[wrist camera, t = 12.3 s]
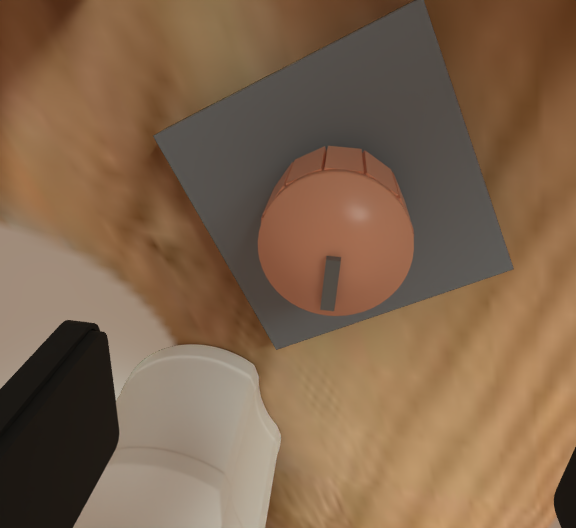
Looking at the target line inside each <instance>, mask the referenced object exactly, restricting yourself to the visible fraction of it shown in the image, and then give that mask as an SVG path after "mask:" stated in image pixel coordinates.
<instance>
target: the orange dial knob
mask: <svg viewBox="0 0 576 528" xmlns="http://www.w3.org/2000/svg"><path fill="white" fill-rule="evenodd" d="M413 231H414V229H413V226H412V223H411V220H410V216H409V213H408V210H407V207H406V203H405V200H404V198H403V195H402V193H401V190H400V188H399V185H398V183H397V180H396V178H395V175H394V173H393V172H392V171H391V169H390V168H389V167H387V166H386V165H384V164H383V163H382V162H380V161H379V160H378V159H376V158H375V157H373V156H372V155H371V154H369V153H368V152H367V151H365V150H364V151H363V153H362V149H358V148H347V147H337V146H328V148H327V150H326V148H325V146H324V147H322V148H319V149H317V150H315V151H313V152H311V153H308V154H306V155H304V156H302V157H300V158H297V159H295V160H294V163H293V162H292V163H291V164H290V166H289V167H288V168H287V170H286V171H285V173H284V174H283V176H282V177H281V178H280V180H279V181H278V183H277V184H276V186H275V187H274V189H273V191H272V194H271V196H270V198H269V201H268V203H267V205H266V208H265V210H264V212H263V214H262V217H261V226H260V230H259V235H258V254H259V260H260V263H261V266H262V269H263V271H264V273H265V275H266V277H267V279H268V280H269V282H270V283H271V285H272V286H273V287H274V288H275V290H276V291H277V292H278V293H279V294H280V295H281V296H283V297H284V298H285V299H286V300H288V301H289V302H290V303H292V304H294V305H296V306H297V307H299V308H301V309H304V310H306V311H309V312H312V313H316V314H321V315H327V316H346V315H352V314H357V313H360V312H364V311H366V310H369V309H371V308H373V307H375V306H377V305H379V304H381V303H382V302H384V301H385V300H386V299H388V298H389V297H390V296H391V295H392V294H393V293H394V292H395V291H396V290H397V289H398V288H399V286H400V285H401V284H402V282H403V281H404V279H405V278H406V276H407V274H408V271H409V269H410V266H411V263H412V259H413V252H414V232H413Z"/></svg>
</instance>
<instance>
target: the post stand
mask: <svg viewBox="0 0 576 528" xmlns="http://www.w3.org/2000/svg"><path fill="white" fill-rule="evenodd" d="M153 137H154V138H155V140H156V142H157V144H158V145H159V147H160V149H161V151H162V152H163V154H164V156H165V157H166V159H167V161H168V163H169V164H170V166H171V168H172V170H173V171H174V173H175V175H176V177H177V178H178V180H179V182H180V184H181V185H182V187H183V189H184V190H185V192H186V194H187V196H188V197H189V199H190V201H191V203H192V204H193V206H194V208H195V210H196V211H197V213H198V215H199V216H200V218H201V220H202V222H203V223H204V225H205V227H206V229H207V230H208V232H209V234H210V236H211V237H212V239H213V241H214V243H215V244H216V246H217V248H218V249H219V251H220V253H221V255H222V256H223V258H224V260H225V262H226V263H227V265H228V267H229V269H230V270H231V272H232V274H233V276H234V277H235V279H236V281H237V282H238V284H239V286H240V288H241V289H242V291H243V293H244V295H245V296H246V298H247V300H248V302H249V303H250V305H251V307H252V308H253V310H254V312H255V314H256V315H257V317H258V319H259V321H260V322H261V324H262V326H263V328H264V329H265V331H266V333H267V335H268V336H269V338H270V340H271V341H272V343H273V345H274V347H275V348H276V350H277V349H280V348H283V347H286V346H289V345H292V344H295V343H298V342H301V341H304V340H307V339H310V338H313V337H316V336H319V335H321V334H324V333H327V332H330V331H333V330H336V329H339V328H342V327H345V326H348V325H351V324H354V323H357V322H360V321H363V320H366V319H369V318H371V317H374V316H377V315H380V314H383V313H386V312H389V311H392V310H395V309H398V308H401V307H404V306H407V305H410V304H413V303H416V302H419V301H422V300H424V299H427V298H430V297H433V296H436V295H439V294H442V293H445V292H448V291H451V290H454V289H457V288H460V287H463V286H466V285H469V284H472V283H475V282H477V281H480V280H483V279H486V278H489V277H492V276H495V275H498V274H501V273H504V272H507V271H510V270H513V269H514V268H513V265H512V262H511V259H510V256H509V253H508V250H507V247H506V244H505V241H504V238H503V235H502V232H501V229H500V226H499V224H498V221H497V218H496V215H495V212H494V209H493V206H492V203H491V200H490V197H489V194H488V191H487V188H486V185H485V182H484V179H483V176H482V173H481V170H480V167H479V164H478V161H477V158H476V155H475V152H474V149H473V146H472V143H471V140H470V137H469V134H468V131H467V128H466V125H465V122H464V119H463V116H462V113H461V110H460V107H459V104H458V101H457V98H456V95H455V92H454V89H453V86H452V83H451V80H450V77H449V74H448V71H447V68H446V65H445V62H444V59H443V56H442V53H441V50H440V47H439V44H438V41H437V38H436V35H435V32H434V29H433V26H432V23H431V20H430V17H429V15H428V12H427V9H426V6H425V3H424V0H414V1H412V2H410V3H408V4H406V5H404V6H403V7H401V8H399V9H397V10H395V11H393V12H391V13H389V14H387V15H385V16H383V17H381V18H379V19H377V20H375V21H373V22H371V23H369V24H368V25H366V26H364V27H362V28H360V29H358V30H356V31H354V32H352V33H350V34H348V35H346V36H344V37H342V38H340V39H338V40H336V41H334V42H333V43H331V44H329V45H327V46H325V47H323V48H321V49H319V50H317V51H315V52H313V53H311V54H309V55H307V56H305V57H303V58H301V59H300V60H298V61H296V62H294V63H292V64H290V65H288V66H286V67H284V68H282V69H280V70H278V71H276V72H274V73H272V74H270V75H268V76H266V77H265V78H263V79H261V80H259V81H257V82H255V83H253V84H251V85H249V86H247V87H245V88H243V89H241V90H239V91H237V92H235V93H233V94H231V95H230V96H228V97H226V98H224V99H222V100H220V101H218V102H216V103H214V104H212V105H210V106H208V107H206V108H204V109H202V110H200V111H198V112H197V113H195V114H193V115H191V116H189V117H187V118H185V119H183V120H181V121H179V122H177V123H175V124H173V125H171V126H169V127H167V128H166V129H164V130H162V131H161V132H159V133H157V134H156V135H154V136H153ZM324 146H325V148H326V150H327V148H328V146H337V147H347V148H358V149H362V153H363V151H364V150H365V151H367V152H368V153H369V154H371V155H372V156H373V157H375V158H376V159H378V160H379V161H380V162H382V163H383V164H384V165H386V166H387V167H389V168H390V169H391V171H392V172H393V173H394V175H395V178H396V180H397V183H398V185H399V188H400V190H401V193H402V195H403V198H404V200H405V203H406V207H407V210H408V213H409V216H410V220H411V223H412V226H413V229H414V231H413V232H414V252H413V259H412V263H411V266H410V269H409V271H408V274H407V276H406V278H405V279H404V281H403V282H402V284H401V285H400V286H399V288H398V289H397V290H396V291H395V292H394V293H393V294H392V295H391V296H390V297H389V298H388V299H386V300H385V301H384V302H382V303H381V304H379V305H377V306H375V307H373V308H371V309H369V310H366V311H364V312H360V313H357V314H352V315H346V316H327V315H321V314H316V313H312V312H309V311H306V310H304V309H301V308H299V307H297V306H296V305H294V304H292V303H290V302H289V301H288V300H286V299H285V298H284V297H283V296H281V295H280V294H279V293H278V292H277V291H276V290H275V288H274V287H273V286H272V285H271V283H270V282H269V280H268V279H267V277H266V275H265V273H264V271H263V269H262V266H261V263H260V260H259V254H258V235H259V230H260V226H261V217H262V214H263V212H264V210H265V208H266V205H267V203H268V201H269V198H270V196H271V194H272V191H273V189H274V187H275V186H276V184H277V183H278V181H279V180H280V178H281V177H282V176H283V174H284V173H285V171H286V170H287V168H288V167H289V166H290V164H291V163H292V162H293V163H294V160H295V159H297V158H300V157H302V156H304V155H306V154H308V153H311V152H313V151H315V150H317V149H319V148H322V147H324Z"/></svg>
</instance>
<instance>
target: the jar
mask: <svg viewBox="0 0 576 528" xmlns="http://www.w3.org/2000/svg"><path fill="white" fill-rule="evenodd" d="M116 407H117V415H118V423H119V433H120V434H119V440H118V444H117V447H116V449H115V451H114V453H113V455H112V457H111V459H110V461H109V462H108V464H107V466H106V468H105V470H104V472H103V473H102V475H101V477H100V479H99V481H98V483H97V484H96V486H95V488H94V490H93V492H92V494H91V495H90V497H89V499H88V501H87V503H86V505H85V506H84V508H83V510H82V512H81V514H80V516H79V517H78V519H77V521H76V523H75V525H74V527H73V528H265V525H266V519H267V513H268V507H269V501H270V495H271V489H272V483H273V477H274V471H275V465H276V459H277V453H278V452H279V448H280V442H281V434H280V432H279V429H278V426H277V425H276V424H275V423H274V421H273V420H272V419H271V417H270V416H269V414H268V412H267V410H266V409H265V406H264V404H263V401H262V398H261V395H260V390H259V376H258V373H257V371H256V368H255V366H254V364H252V363H251V362H249V361H248V360H246V359H244V358H243V357H241V356H239V355H237V354H235V353H232V352H230V351H227V350H224V349H221V348H217V347H213V346H207V345H198V344H186V345H177V346H172V347H168V348H165V349H162V350H159V351H157V352H155V353H153V354H151V355H149V356H148V357H147V358H145V359H144V360H143V361H141V362H140V363H139V364H138V365H137V366H136V368H135V369H134V370H133V372H132V373H131V375H130V377H129V378H128V380H127V381H126V383H125V385H124V387H123V389H122V391H121V394H120V396H119V397H118V399H117V401H116Z"/></svg>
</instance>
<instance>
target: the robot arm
mask: <svg viewBox="0 0 576 528" xmlns="http://www.w3.org/2000/svg"><path fill="white" fill-rule="evenodd" d="M119 434H120V433H119V423H118V415H117V407H116V400H115V393H114V384H113V377H112V369H111V361H110V353H109V346H108V339H107V335H106V333H105V332H100V330H99V327H98V325H97V324H95V323H87V322H80V321H71V320H67V321H64V322H63V323H62V324H61V325H60V326H59V327H58V328H57V329H56V330H55V331H54V332H53V333H52V334H51V335H50V336H49V338H48V339H47V340H46V341H45V342H44V343H43V344H42V345H41V346H40V347H39V348H38V349H37V350H36V352H35V353H34V354H33V355H32V356H31V357H30V358H29V359H28V360H27V361H26V362H25V363H24V364H23V365H22V367H21V368H20V369H19V370H18V371H17V372H16V373H15V374H14V375H13V376H12V377H11V378H10V379H9V380H8V382H7V383H6V384H5V385H4V386H3V387H2V388H1V389H0V528H73V527H74V525H75V523H76V521H77V519H78V517H79V516H80V514H81V512H82V510H83V508H84V506H85V505H86V503H87V501H88V499H89V497H90V495H91V494H92V492H93V490H94V488H95V486H96V484H97V483H98V481H99V479H100V477H101V475H102V473H103V472H104V470H105V468H106V466H107V464H108V462H109V461H110V459H111V457H112V455H113V453H114V451H115V449H116V447H117V444H118V440H119ZM554 507H555V512H556V515H557V518H558V520H559V523H560V525H561V528H576V447H575V449H574V452H573V454H572V456H571V458H570V460H569V463H568V465H567V467H566V469H565V472H564V474H563V476H562V478H561V480H560V483H559V485H558V487H557V489H556V492H555V495H554Z"/></svg>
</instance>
